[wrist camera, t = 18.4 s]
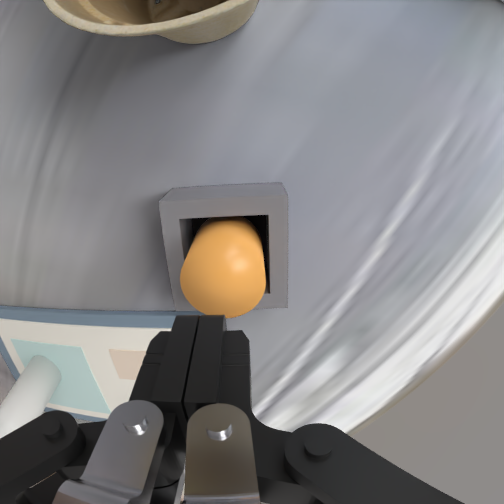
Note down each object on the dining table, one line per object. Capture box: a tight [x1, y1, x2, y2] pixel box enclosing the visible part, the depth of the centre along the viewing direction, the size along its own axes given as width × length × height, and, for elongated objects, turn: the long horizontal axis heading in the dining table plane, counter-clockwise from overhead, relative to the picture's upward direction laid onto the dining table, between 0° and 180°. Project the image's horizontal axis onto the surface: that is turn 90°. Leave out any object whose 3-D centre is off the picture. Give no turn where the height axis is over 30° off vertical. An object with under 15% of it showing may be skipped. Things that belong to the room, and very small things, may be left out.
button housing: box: [159, 183, 288, 311], centre depth 17 cm, size 6×6×3 cm
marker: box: [0, 355, 61, 438], centre depth 17 cm, size 3×3×12 cm
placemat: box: [0, 305, 206, 422], centre depth 23 cm, size 22×13×1 cm, turn 92°
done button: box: [180, 216, 266, 318], centre depth 15 cm, size 4×4×4 cm
